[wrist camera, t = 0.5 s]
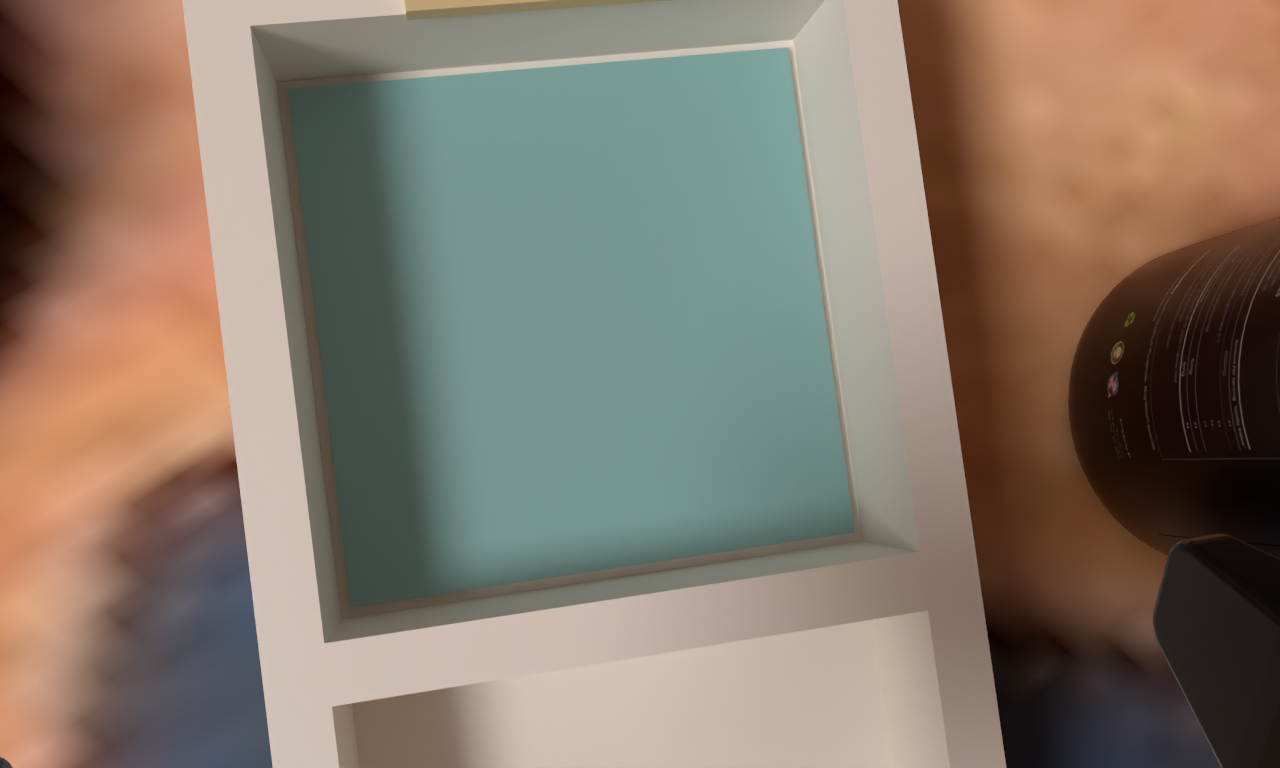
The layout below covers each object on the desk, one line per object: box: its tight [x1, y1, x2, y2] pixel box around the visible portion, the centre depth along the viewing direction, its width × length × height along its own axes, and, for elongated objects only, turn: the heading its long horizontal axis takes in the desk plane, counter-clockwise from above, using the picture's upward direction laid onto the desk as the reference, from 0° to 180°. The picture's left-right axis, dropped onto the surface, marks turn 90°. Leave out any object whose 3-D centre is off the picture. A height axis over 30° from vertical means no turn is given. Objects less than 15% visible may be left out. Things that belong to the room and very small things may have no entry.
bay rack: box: [182, 0, 1006, 768], centre depth 22 cm, size 23×12×4 cm, turn 7°
